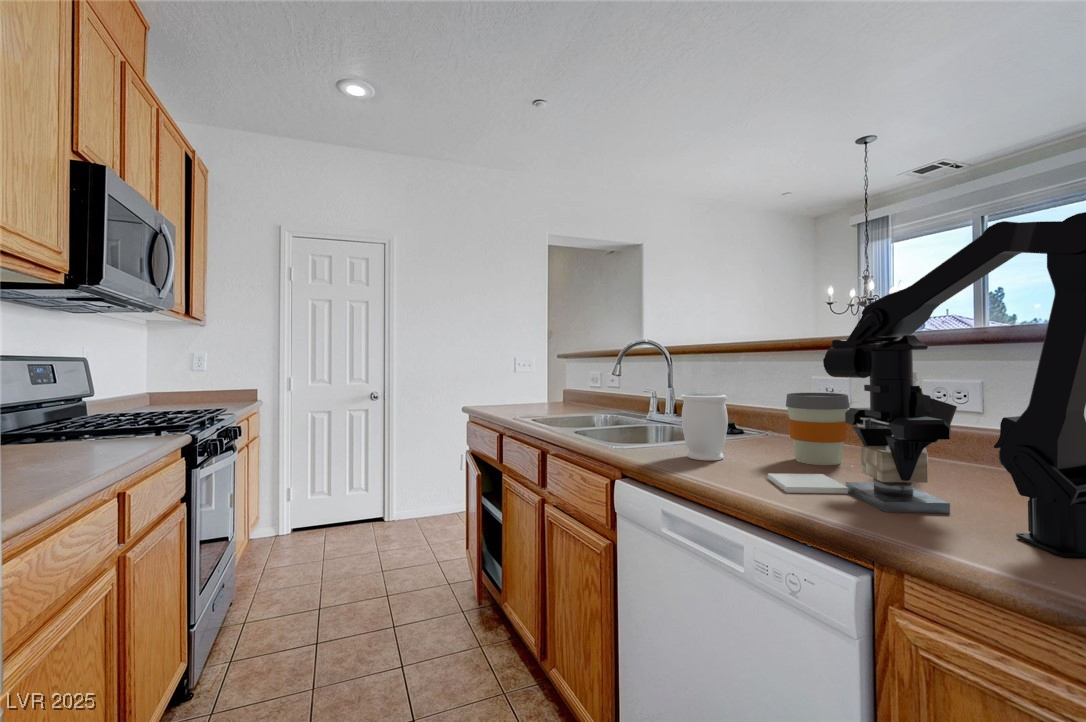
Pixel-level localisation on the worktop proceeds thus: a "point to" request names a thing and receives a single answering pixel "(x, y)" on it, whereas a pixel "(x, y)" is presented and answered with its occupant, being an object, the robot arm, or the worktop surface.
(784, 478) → the tile pad
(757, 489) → the worktop surface
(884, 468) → the collar
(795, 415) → the reusable coffee cup
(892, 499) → the post stand
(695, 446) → the jar
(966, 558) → the worktop surface
